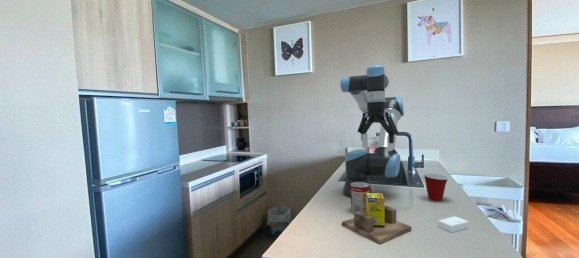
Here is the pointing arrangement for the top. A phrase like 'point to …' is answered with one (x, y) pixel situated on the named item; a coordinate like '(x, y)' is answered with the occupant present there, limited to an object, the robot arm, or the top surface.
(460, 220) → the soap
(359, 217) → the slotted stand
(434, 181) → the plastic cup
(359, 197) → the canned food
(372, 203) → the supplement box
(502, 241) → the top surface
